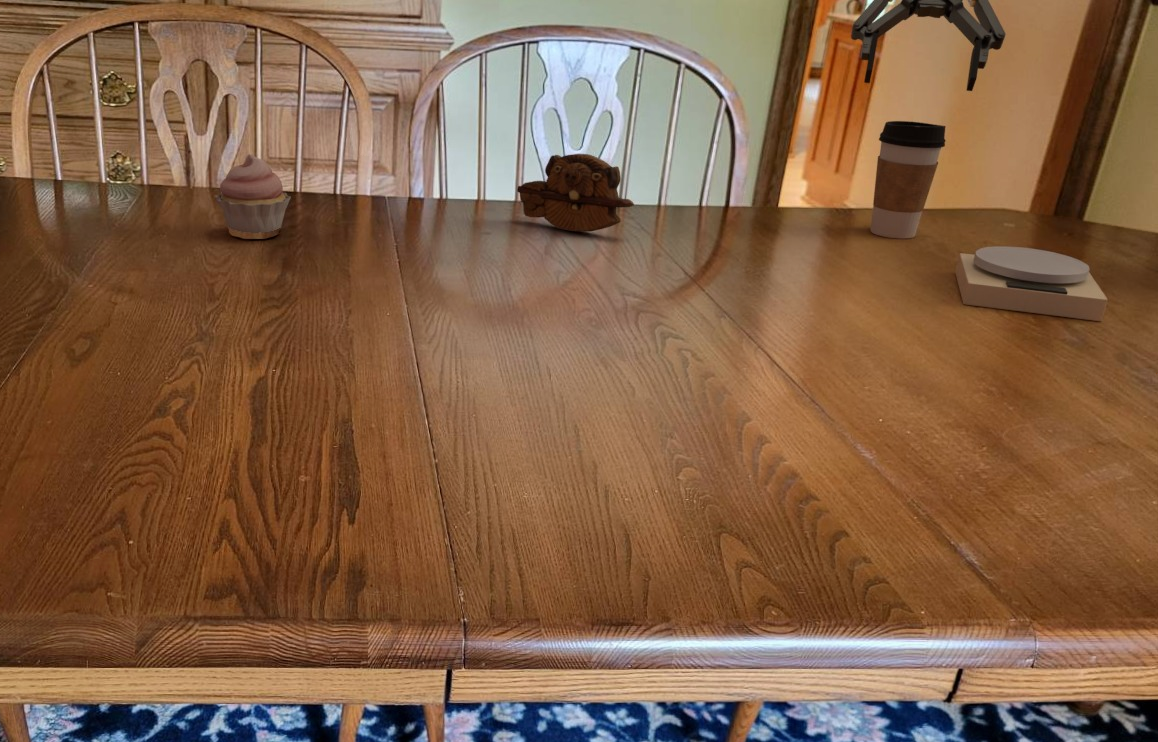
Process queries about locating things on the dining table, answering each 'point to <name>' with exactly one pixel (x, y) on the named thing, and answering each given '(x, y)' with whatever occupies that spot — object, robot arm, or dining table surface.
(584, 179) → the wooden carving
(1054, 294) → the kitchen scale
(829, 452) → the dining table surface
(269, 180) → the cupcake
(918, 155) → the coffee cup
